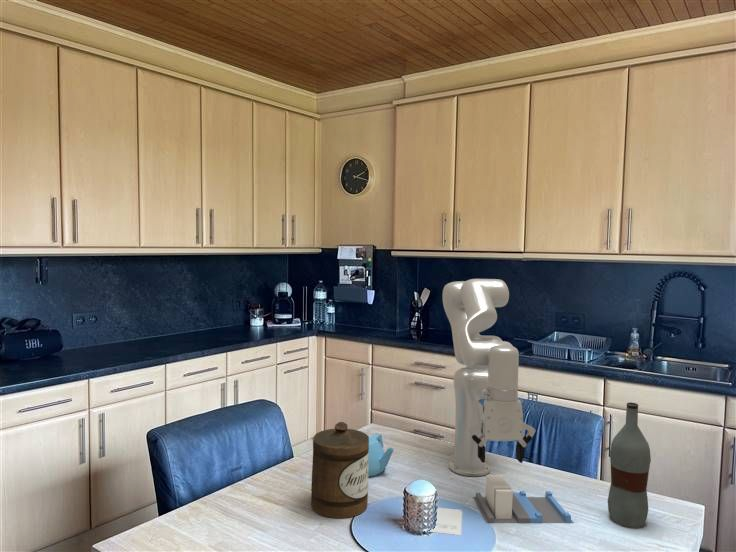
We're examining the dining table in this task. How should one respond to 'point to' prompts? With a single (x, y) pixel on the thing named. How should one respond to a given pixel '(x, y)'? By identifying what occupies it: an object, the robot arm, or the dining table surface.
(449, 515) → the external hard drive
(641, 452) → the bottle
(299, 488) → the dining table surface
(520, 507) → the board
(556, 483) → the dining table surface
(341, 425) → the wooden container
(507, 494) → the block
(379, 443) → the teapot
